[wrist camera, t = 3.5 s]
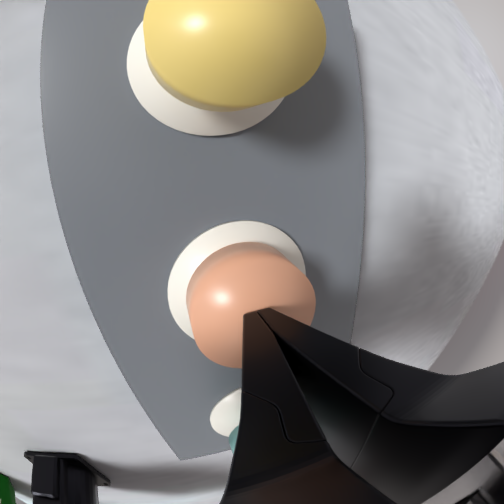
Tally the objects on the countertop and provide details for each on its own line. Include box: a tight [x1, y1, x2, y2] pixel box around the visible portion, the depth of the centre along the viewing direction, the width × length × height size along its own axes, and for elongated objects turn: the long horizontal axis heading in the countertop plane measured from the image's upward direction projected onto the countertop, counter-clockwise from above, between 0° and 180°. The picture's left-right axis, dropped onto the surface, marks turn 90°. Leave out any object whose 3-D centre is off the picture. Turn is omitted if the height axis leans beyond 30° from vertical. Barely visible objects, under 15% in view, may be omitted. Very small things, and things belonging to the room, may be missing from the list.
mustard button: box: [143, 0, 326, 112], centre depth 5 cm, size 4×4×2 cm
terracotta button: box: [186, 242, 316, 368], centre depth 9 cm, size 4×4×2 cm
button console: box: [40, 0, 365, 461], centre depth 11 cm, size 24×11×3 cm, turn 5°
